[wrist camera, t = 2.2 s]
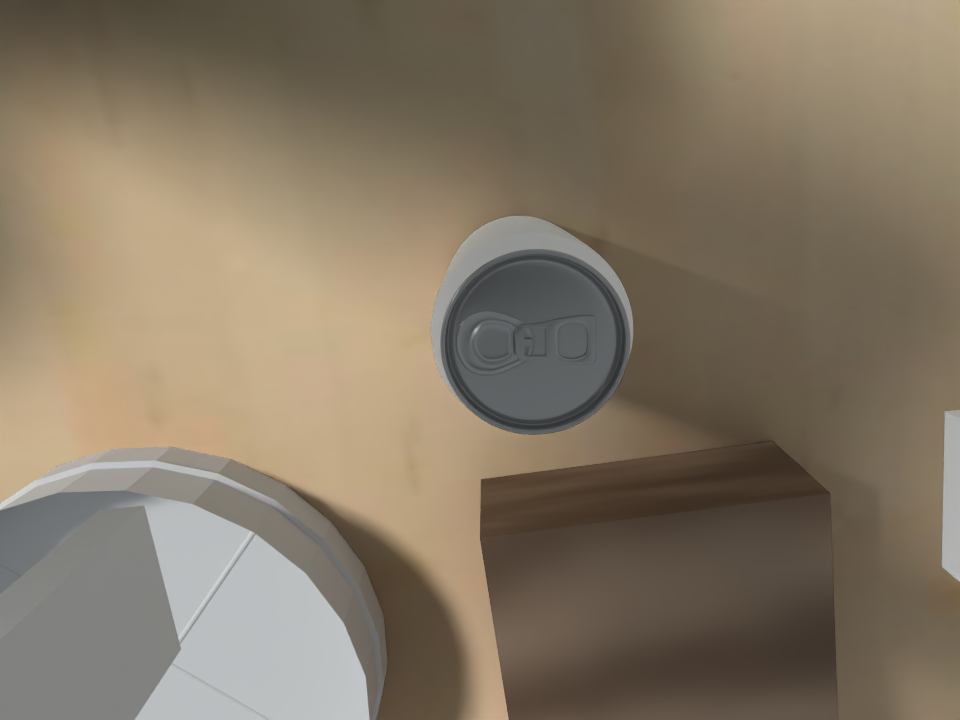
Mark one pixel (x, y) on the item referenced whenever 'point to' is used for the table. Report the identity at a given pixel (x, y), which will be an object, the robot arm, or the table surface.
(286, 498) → the dish
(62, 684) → the robot arm
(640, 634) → the walnut base
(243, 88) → the table surface
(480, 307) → the can
